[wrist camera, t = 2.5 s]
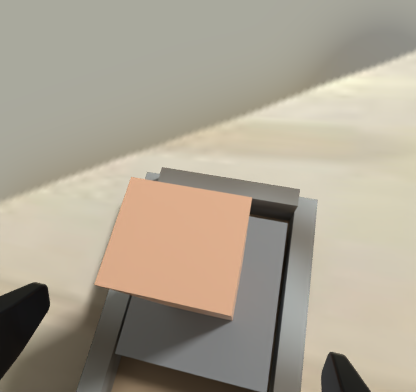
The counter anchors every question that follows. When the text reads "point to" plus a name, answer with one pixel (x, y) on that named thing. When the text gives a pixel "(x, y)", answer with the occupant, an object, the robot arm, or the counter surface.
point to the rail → (286, 309)
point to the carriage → (196, 281)
